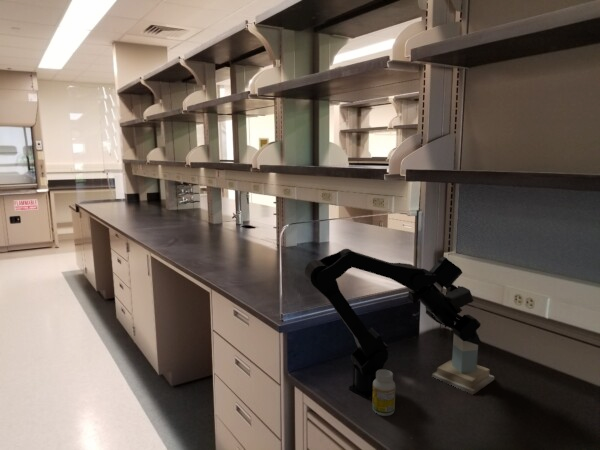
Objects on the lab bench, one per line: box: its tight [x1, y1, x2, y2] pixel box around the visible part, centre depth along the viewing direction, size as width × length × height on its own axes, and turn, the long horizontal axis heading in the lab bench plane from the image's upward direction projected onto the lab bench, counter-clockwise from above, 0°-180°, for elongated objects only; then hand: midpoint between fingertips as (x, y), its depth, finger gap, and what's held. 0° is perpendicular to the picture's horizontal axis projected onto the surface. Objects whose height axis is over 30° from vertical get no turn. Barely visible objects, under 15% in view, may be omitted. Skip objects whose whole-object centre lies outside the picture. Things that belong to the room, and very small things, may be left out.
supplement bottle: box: [371, 369, 396, 417], centre depth 104 cm, size 5×5×10 cm
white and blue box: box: [451, 323, 480, 373], centre depth 118 cm, size 5×5×12 cm
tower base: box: [431, 359, 495, 396], centre depth 119 cm, size 12×12×3 cm
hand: (469, 336), depth 118 cm, fingers open, 9 cm apart
